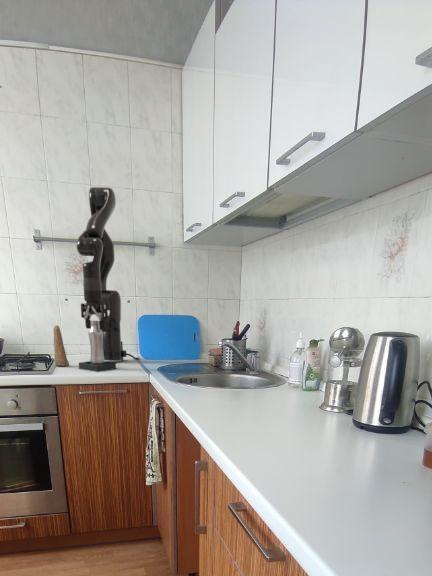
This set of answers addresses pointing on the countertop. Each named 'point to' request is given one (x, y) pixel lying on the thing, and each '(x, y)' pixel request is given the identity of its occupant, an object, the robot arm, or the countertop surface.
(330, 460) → the countertop surface
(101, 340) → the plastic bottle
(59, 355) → the brown tapered cone
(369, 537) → the countertop surface
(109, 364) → the tray
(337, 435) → the countertop surface
